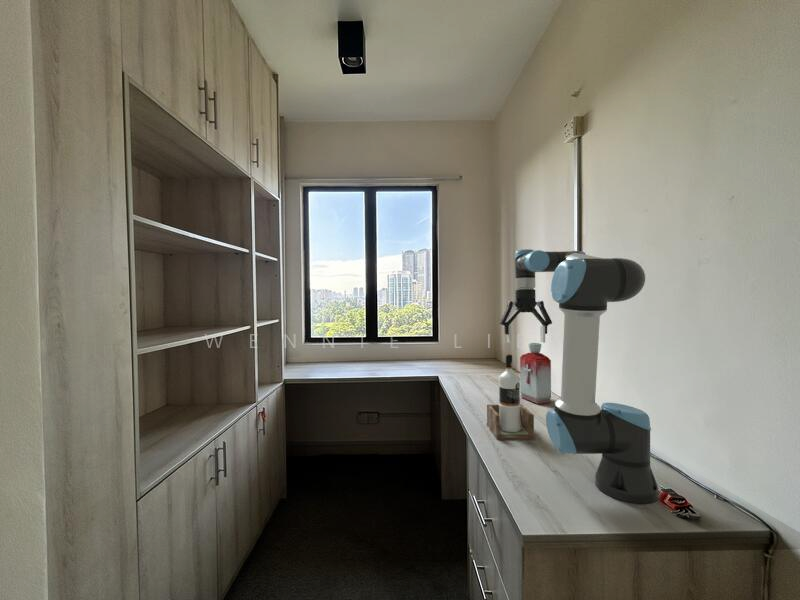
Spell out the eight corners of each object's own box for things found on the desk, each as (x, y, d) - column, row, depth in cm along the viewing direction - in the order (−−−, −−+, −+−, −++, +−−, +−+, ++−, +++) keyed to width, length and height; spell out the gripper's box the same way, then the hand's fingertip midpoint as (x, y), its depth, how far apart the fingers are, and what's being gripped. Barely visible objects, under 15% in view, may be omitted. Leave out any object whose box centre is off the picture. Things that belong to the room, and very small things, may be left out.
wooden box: (534, 439, 141) (534, 415, 141) (497, 439, 141) (496, 416, 140) (520, 424, 157) (520, 403, 157) (486, 425, 157) (486, 404, 156)
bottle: (518, 398, 198) (518, 342, 198) (534, 396, 201) (534, 341, 201) (536, 405, 184) (535, 345, 184) (553, 403, 187) (552, 344, 187)
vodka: (508, 423, 155) (507, 352, 155) (526, 430, 147) (526, 354, 147) (492, 427, 150) (492, 354, 150) (511, 434, 142) (510, 357, 142)
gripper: (551, 289, 151) (552, 341, 151) (491, 289, 150) (492, 341, 150) (560, 288, 143) (561, 343, 143) (497, 288, 142) (497, 344, 142)
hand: (526, 342), depth 146 cm, fingers open, 13 cm apart
